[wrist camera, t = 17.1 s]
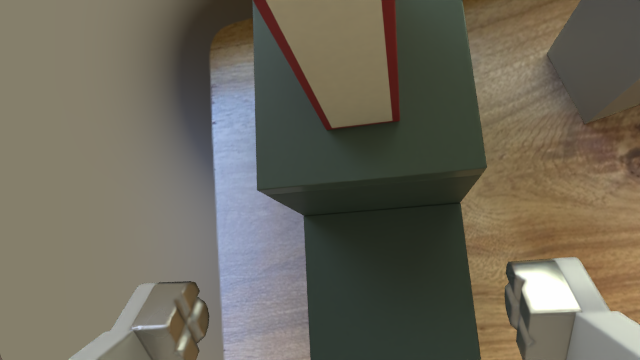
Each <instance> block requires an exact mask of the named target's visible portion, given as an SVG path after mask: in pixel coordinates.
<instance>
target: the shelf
mask: <svg viewBox="0 0 640 360" xmlns="http://www.w3.org/2000/svg"><path fill="white" fill-rule="evenodd" d="M395 8H396V32H397V56H398V80H399V104H400V121H397V122H389V123H381V124H372V125H364V126H356V127H347V128H339V129H331V130H326V129H325V127H324V125H323V123H322V122H321V120H320V118H319V116H318V115H317V113H316V111H315V109H314V108H313V106H312V104H311V102H310V101H309V99H308V97H307V95H306V93H305V92H304V90H303V88H302V86H301V85H300V83H299V81H298V79H297V78H296V76H295V74H294V72H293V71H292V69H291V67H290V65H289V63H288V62H287V60H286V58H285V56H284V55H283V53H282V51H281V49H280V48H279V46H278V44H277V42H276V41H275V39H274V37H273V35H272V33H271V32H270V30H269V28H268V26H267V25H266V23H265V21H264V19H263V18H262V16H261V14H260V12H259V10H258V9H257V7H256V5H255V3H254V2H253V36H254V78H255V119H256V161H257V190H258V191H260V192H262V193H264V194H265V195H267V196H269V197H271V198H273V199H274V200H276V201H278V202H280V203H282V204H284V205H285V206H287V207H289V208H291V209H293V210H295V211H296V212H298V213H300V214H302V215H304V232H305V253H306V274H307V295H308V316H309V337H310V357H311V360H481V357H480V349H479V342H478V334H477V326H476V319H475V311H474V303H473V296H472V288H471V281H470V273H469V265H468V258H467V250H466V242H465V235H464V227H463V219H462V212H461V204H460V202H461V201H462V199H463V198H464V197H465V195H466V194H467V193H468V192H469V190H470V189H471V188H472V186H473V185H474V184H475V183H476V181H477V180H478V179H479V177H480V176H481V174H482V173H483V172H484V171H485V169H486V168H487V164H486V157H485V150H484V143H483V137H482V130H481V123H480V116H479V110H478V103H477V96H476V89H475V82H474V76H473V69H472V62H471V55H470V49H469V42H468V35H467V28H466V21H465V15H464V8H463V1H462V0H395Z"/></svg>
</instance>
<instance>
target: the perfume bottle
mask: <svg viewBox="0 0 640 360" xmlns="http://www.w3.org/2000/svg"><path fill="white" fill-rule="evenodd" d="M547 55H548V57H549V58H550V60H551V62H552V64H553V66H554V68H555V70H556V71H557V73H558V75H559V77H560V79H561V81H562V83H563V85H564V86H565V88H566V90H567V92H568V94H569V96H570V98H571V99H572V101H573V103H574V105H575V107H576V109H577V111H578V112H579V114H580V116H581V118H582V120H583V122H584V124H587V123H590V122H593V121H595V120H598V119H601V118H604V117H606V116H609V115H612V114H615V113H617V112H620V111H623V110H626V109H628V108H631V107H634V106H637V105H639V104H640V0H581V1H580V2H579V4H578V5H577V7H576V9H575V10H574V12H573V13H572V15H571V16H570V18H569V20H568V21H567V23H566V24H565V26H564V27H563V29H562V30H561V32H560V34H559V35H558V37H557V38H556V40H555V41H554V43H553V45H552V46H551V48H550V49H549V51H548V52H547Z"/></svg>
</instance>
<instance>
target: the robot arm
mask: <svg viewBox="0 0 640 360" xmlns="http://www.w3.org/2000/svg"><path fill="white" fill-rule="evenodd" d="M506 275H507V278H508V281H509V283H508V284H507V285H506V286H505V305H506V311H507V315H508V318H509V321H510V324H511V326H512V327H514V328H515V329H516V330H517V338H516V342H517V345H518V348H519V351H520V354H521V357H522V359H523V360H640V324H638V323H636V322H635V321H633V320H632V319H630V318H628V317H627V316H625V315H624V314H622V313H620V312H619V311H610V309H609V307H608V306H607V304H606V302H605V301H604V299H603V297H602V296H601V294H600V293H599V291H598V289H597V288H596V286H595V284H594V283H593V281H592V279H591V278H590V276H589V274H588V273H587V271H586V269H585V268H584V266H583V264H582V263H581V261H580V260H579V259H578V258H576V257H567V258H553V259H539V260H525V261H511V262H508V263H507V266H506ZM198 294H199V288H198V286H197V285H196V283H195V282H191V281H189V282H159V283H143V284H141V285H139V286H138V287H137V288H136V290H135V292H134V293H133V295H132V297H131V298H130V300H129V302H128V303H127V305H126V306H125V308H124V310H123V311H122V313H121V314H120V316H119V318H118V319H117V321H116V323H115V324H114V326H113V328H112V329H111V331H109V332H104V333H103V334H101V335H100V336H99V337H97V338H96V339H95V340H93V341H92V342H91V343H89V344H88V345H87V346H85V347H84V348H83V349H81V350H80V351H79V352H77V353H76V354H75V355H74V356H72V357H71V358H70V359H68V360H196V359H197V356H198V353H199V348H198V345H197V343H198V342H199V341H200V340H202V339H203V338H204V337H205V335H206V332H207V329H208V324H209V312H208V308H207V306H206V303H205V302H204V301H203V300H201V299H200V298H198V297H197V296H198Z"/></svg>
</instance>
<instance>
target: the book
mask: <svg viewBox="0 0 640 360" xmlns="http://www.w3.org/2000/svg"><path fill="white" fill-rule="evenodd" d="M253 2H254V3H255V5H256V7H257V9H258V10H259V12H260V14H261V16H262V18H263V19H264V21H265V23H266V25H267V26H268V28H269V30H270V32H271V33H272V35H273V37H274V39H275V41H276V42H277V44H278V46H279V48H280V49H281V51H282V53H283V55H284V56H285V58H286V60H287V62H288V63H289V65H290V67H291V69H292V71H293V72H294V74H295V76H296V78H297V79H298V81H299V83H300V85H301V86H302V88H303V90H304V92H305V93H306V95H307V97H308V99H309V101H310V102H311V104H312V106H313V108H314V109H315V111H316V113H317V115H318V116H319V118H320V120H321V122H322V123H323V125H324V127H325V129H326V130H331V129H339V128H347V127H356V126H364V125H372V124H381V123H389V122H397V121H400V104H399V80H398V56H397V32H396V8H395V0H253Z"/></svg>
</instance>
